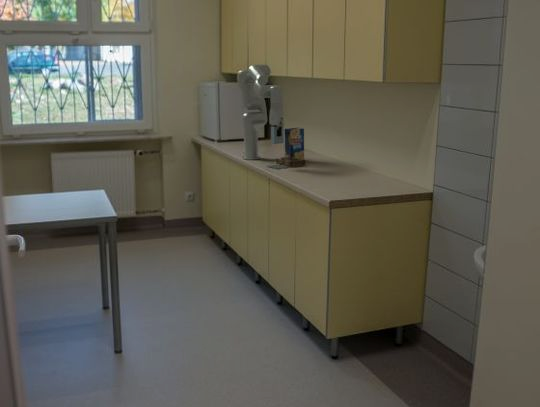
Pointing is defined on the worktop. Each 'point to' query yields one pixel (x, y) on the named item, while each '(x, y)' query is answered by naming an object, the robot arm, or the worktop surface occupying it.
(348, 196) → the worktop surface
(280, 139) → the tall pale blue pillar
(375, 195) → the worktop surface
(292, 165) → the rack
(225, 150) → the worktop surface
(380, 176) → the worktop surface
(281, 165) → the mat
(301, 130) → the blue printed long box
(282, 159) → the oak offcut upper
